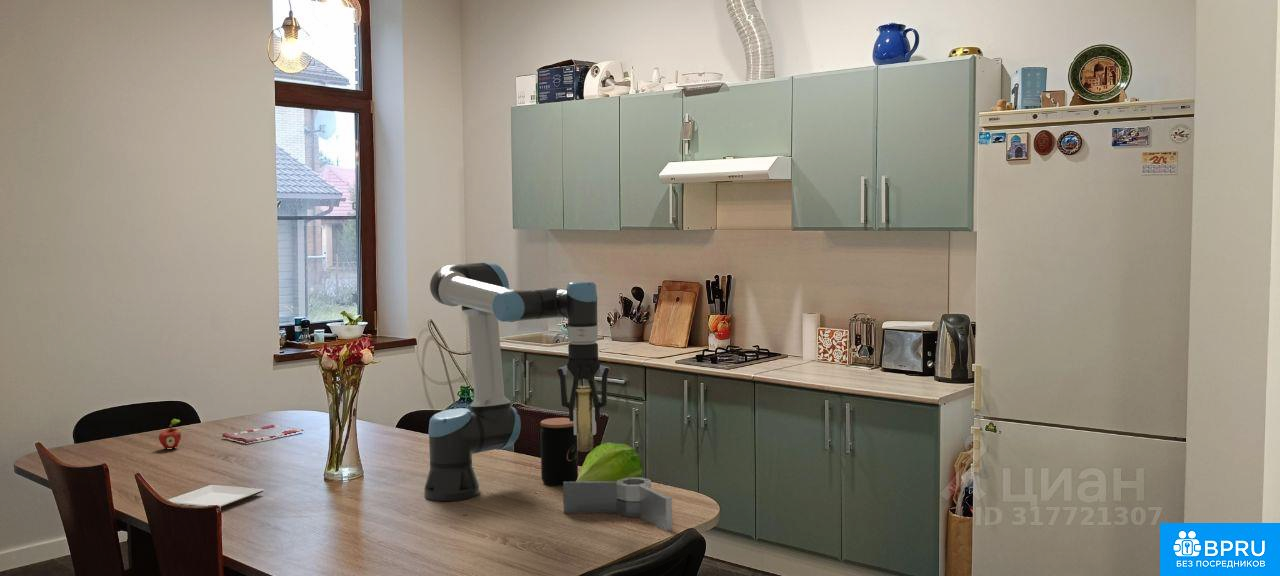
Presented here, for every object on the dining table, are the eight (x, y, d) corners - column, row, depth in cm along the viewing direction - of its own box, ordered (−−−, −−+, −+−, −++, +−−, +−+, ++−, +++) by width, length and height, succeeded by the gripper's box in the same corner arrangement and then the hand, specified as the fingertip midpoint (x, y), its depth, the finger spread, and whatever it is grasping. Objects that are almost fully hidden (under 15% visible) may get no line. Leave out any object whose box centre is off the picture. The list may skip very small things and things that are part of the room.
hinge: (556, 531, 244) (556, 499, 243) (565, 507, 264) (565, 477, 264) (672, 531, 243) (671, 498, 242) (672, 507, 263) (671, 477, 263)
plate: (265, 496, 281) (264, 488, 281) (217, 514, 263) (217, 506, 263) (211, 491, 287) (211, 484, 287) (161, 508, 269) (161, 501, 269)
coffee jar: (572, 487, 285) (571, 425, 284) (536, 485, 287) (535, 424, 286) (582, 478, 295) (581, 418, 294) (547, 476, 297) (546, 417, 296)
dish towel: (220, 440, 357) (220, 433, 357) (278, 429, 376) (278, 422, 376) (246, 446, 347) (246, 438, 347) (305, 434, 366) (304, 427, 365)
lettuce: (604, 515, 265) (568, 511, 276) (660, 481, 280) (625, 478, 291) (589, 463, 263) (554, 462, 274) (647, 432, 278) (611, 431, 289)
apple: (175, 451, 338) (174, 422, 338) (155, 451, 338) (154, 422, 338) (186, 446, 346) (184, 417, 345) (166, 446, 346) (165, 418, 346)
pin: (574, 452, 251) (573, 389, 250) (577, 447, 255) (575, 386, 254) (593, 451, 250) (592, 389, 249) (595, 447, 255) (594, 386, 254)
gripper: (547, 344, 248) (549, 437, 249) (615, 343, 247) (617, 436, 248) (551, 341, 256) (554, 431, 257) (617, 340, 255) (619, 430, 256)
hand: (585, 433), depth 253 cm, fingers closed on pin, 4 cm apart
